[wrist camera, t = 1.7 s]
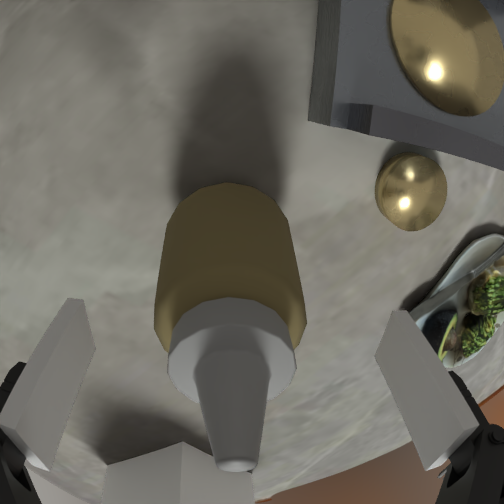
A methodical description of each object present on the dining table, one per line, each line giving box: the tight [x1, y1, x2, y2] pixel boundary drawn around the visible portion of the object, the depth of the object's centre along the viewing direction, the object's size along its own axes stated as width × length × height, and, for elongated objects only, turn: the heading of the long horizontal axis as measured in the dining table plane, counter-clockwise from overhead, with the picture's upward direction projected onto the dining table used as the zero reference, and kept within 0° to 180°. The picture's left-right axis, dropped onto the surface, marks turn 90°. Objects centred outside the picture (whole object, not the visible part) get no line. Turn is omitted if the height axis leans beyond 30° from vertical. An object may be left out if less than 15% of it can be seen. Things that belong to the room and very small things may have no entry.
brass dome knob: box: [375, 152, 447, 231], centre depth 23 cm, size 6×6×2 cm
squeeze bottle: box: [154, 182, 307, 472], centre depth 15 cm, size 8×8×18 cm
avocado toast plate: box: [409, 233, 504, 368], centre depth 27 cm, size 19×18×5 cm
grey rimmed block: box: [308, 0, 504, 171], centre depth 14 cm, size 16×15×8 cm
